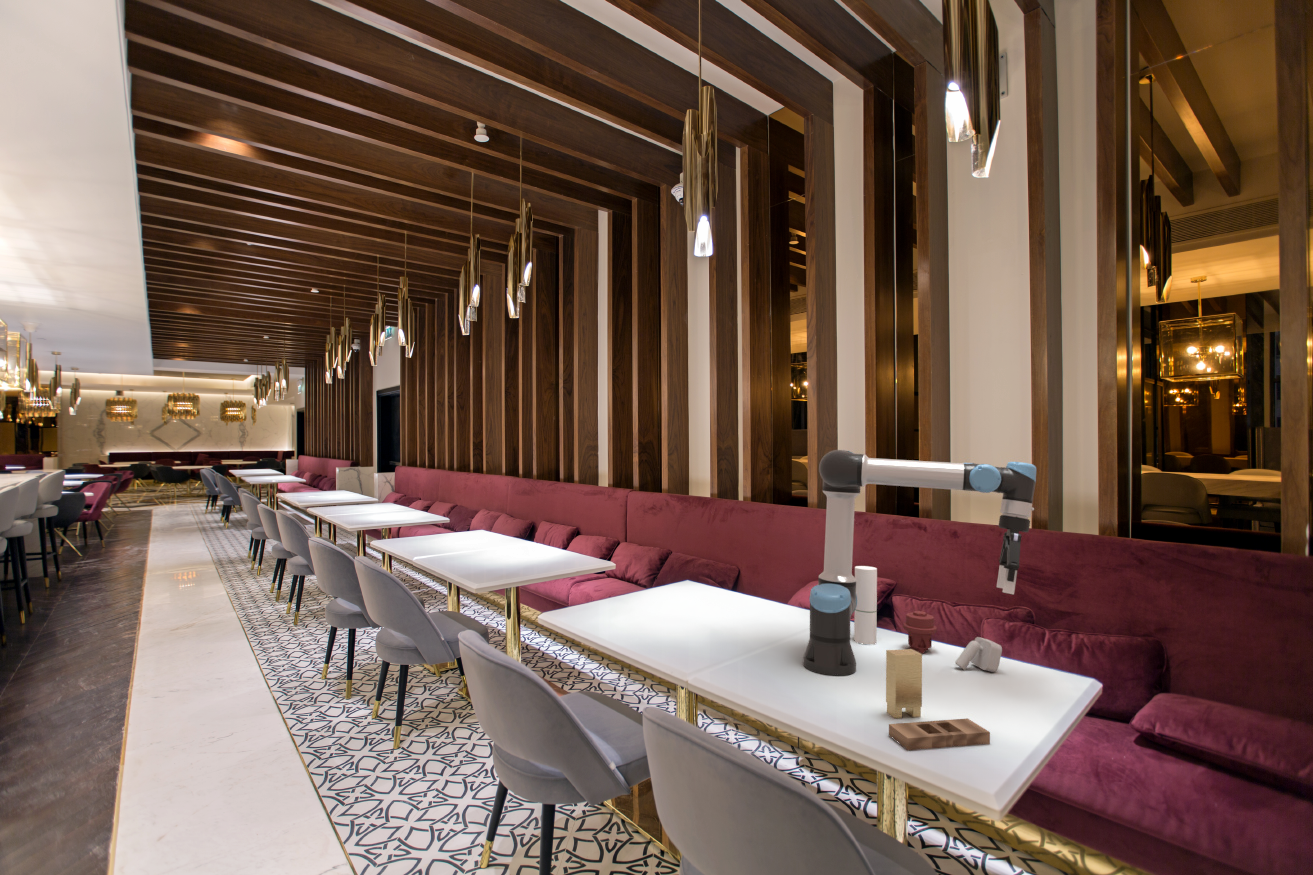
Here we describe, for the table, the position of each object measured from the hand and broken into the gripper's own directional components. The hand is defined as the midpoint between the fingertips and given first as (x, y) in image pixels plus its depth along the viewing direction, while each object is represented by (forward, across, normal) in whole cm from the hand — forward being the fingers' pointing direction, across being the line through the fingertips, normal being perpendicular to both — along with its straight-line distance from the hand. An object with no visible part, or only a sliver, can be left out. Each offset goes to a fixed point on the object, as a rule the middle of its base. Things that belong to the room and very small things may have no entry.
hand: (1004, 590), depth 171 cm
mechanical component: (+26, +22, +19) cm, 39 cm away
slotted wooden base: (+31, -46, +14) cm, 57 cm away
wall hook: (+26, +10, +4) cm, 28 cm away
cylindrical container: (+29, +24, +36) cm, 52 cm away
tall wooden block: (+32, -35, +22) cm, 52 cm away
